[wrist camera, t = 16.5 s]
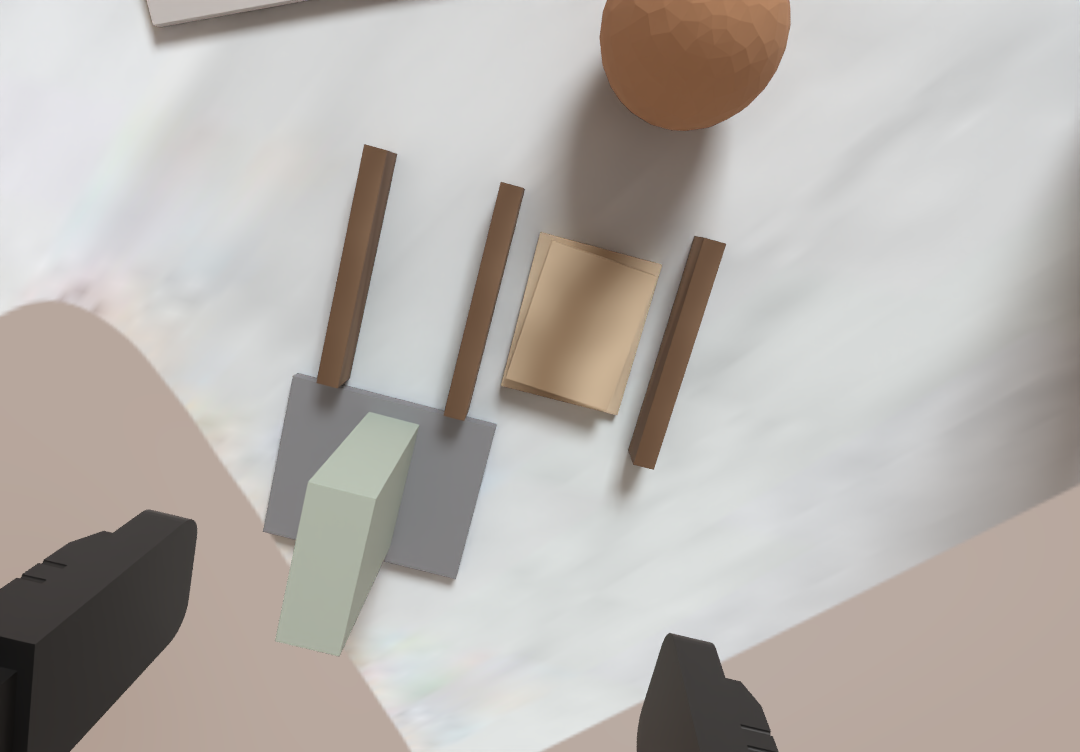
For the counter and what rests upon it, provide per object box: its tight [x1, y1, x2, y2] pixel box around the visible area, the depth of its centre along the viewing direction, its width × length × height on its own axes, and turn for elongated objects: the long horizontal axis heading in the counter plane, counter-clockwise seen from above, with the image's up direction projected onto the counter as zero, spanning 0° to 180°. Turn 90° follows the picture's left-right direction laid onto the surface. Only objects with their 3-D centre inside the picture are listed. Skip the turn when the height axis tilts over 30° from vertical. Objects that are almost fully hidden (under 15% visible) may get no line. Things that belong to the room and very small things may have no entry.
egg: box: [600, 0, 790, 131], centre depth 33 cm, size 8×8×11 cm
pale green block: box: [275, 412, 419, 656], centre depth 37 cm, size 3×8×11 cm, turn 165°
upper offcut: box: [506, 240, 657, 411], centre depth 40 cm, size 6×8×1 cm
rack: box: [316, 144, 726, 470], centre depth 40 cm, size 19×13×2 cm
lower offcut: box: [501, 232, 662, 415], centre depth 41 cm, size 7×9×1 cm
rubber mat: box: [263, 373, 496, 579], centre depth 43 cm, size 12×10×1 cm
